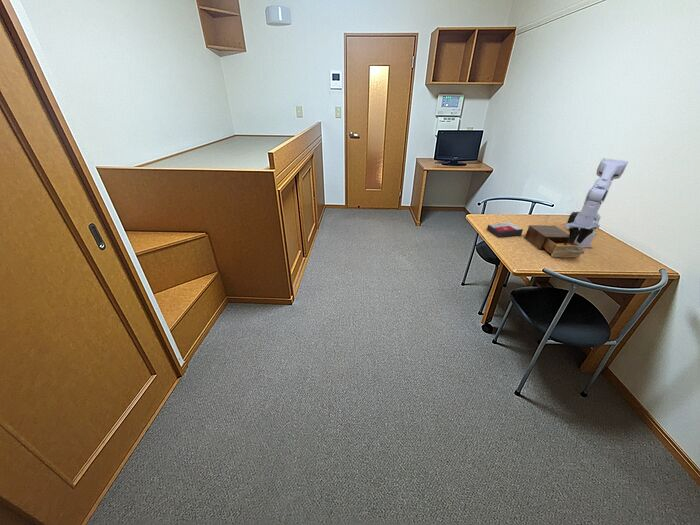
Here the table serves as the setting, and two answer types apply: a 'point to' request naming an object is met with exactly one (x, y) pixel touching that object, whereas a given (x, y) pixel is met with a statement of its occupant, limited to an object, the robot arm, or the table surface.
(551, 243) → the drawer
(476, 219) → the table surface
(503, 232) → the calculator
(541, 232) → the cabinet
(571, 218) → the camera
